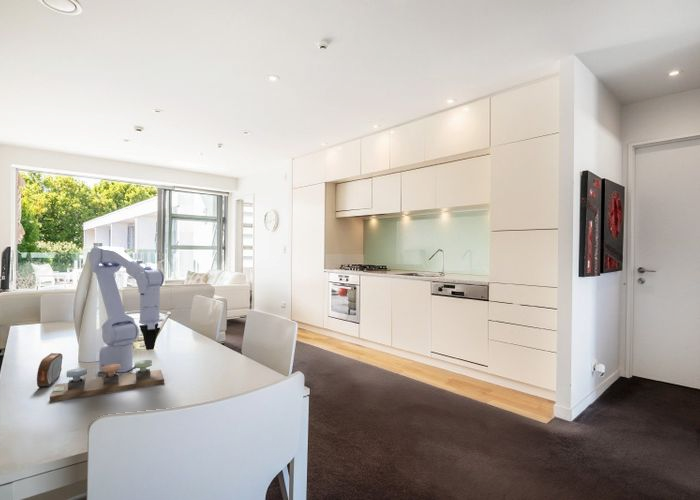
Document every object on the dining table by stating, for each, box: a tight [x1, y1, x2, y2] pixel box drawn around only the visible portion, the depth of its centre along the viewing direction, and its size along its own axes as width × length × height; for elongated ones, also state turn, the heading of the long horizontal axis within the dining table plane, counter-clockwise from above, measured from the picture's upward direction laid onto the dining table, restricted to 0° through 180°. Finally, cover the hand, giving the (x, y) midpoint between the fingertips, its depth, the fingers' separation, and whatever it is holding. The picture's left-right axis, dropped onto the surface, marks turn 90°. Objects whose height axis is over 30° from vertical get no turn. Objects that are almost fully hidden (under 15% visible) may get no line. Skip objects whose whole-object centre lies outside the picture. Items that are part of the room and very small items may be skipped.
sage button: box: [134, 359, 153, 373], centre depth 118 cm, size 5×5×3 cm
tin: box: [36, 352, 63, 388], centre depth 117 cm, size 15×3×8 cm, turn 23°
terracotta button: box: [101, 364, 121, 377], centre depth 114 cm, size 5×5×3 cm
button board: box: [49, 368, 165, 403], centre depth 114 cm, size 28×11×3 cm, turn 122°
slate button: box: [65, 367, 88, 382], centre depth 109 cm, size 5×5×3 cm
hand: (149, 347), depth 124 cm, fingers open, 5 cm apart
